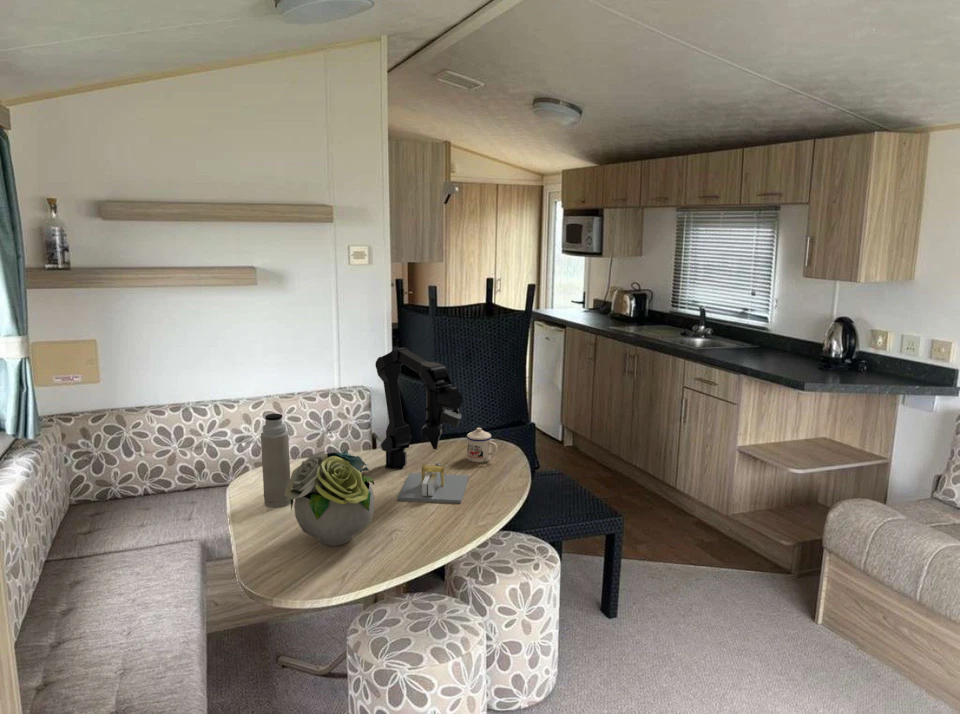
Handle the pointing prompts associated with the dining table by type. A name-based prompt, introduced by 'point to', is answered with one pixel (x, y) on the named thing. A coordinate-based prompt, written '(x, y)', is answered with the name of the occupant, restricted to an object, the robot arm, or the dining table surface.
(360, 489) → the flower arrangement
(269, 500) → the thermos bottle
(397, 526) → the dining table surface
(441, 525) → the dining table surface
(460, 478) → the tongs base
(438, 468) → the lock collar
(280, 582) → the dining table surface
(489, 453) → the teacup with lid
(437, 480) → the tong arm
